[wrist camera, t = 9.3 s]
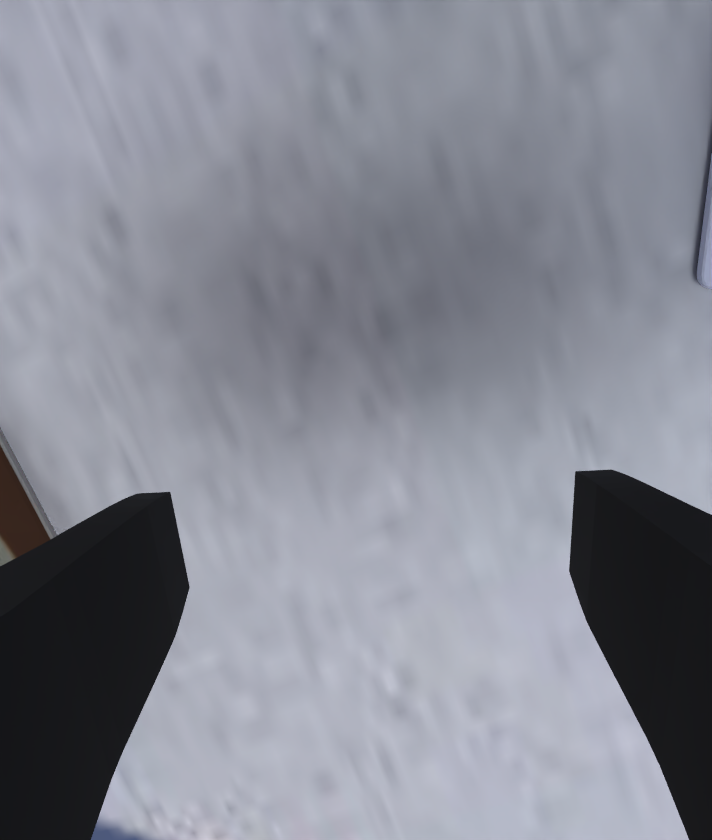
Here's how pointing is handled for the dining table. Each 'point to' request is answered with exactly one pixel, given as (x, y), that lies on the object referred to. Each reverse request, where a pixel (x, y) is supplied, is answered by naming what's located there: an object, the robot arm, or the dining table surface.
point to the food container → (19, 510)
